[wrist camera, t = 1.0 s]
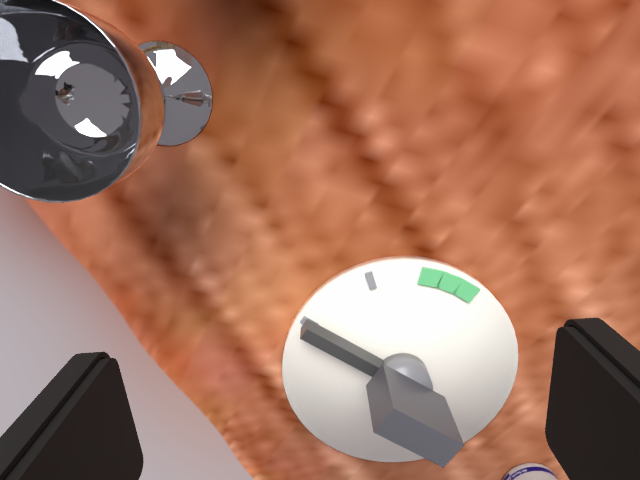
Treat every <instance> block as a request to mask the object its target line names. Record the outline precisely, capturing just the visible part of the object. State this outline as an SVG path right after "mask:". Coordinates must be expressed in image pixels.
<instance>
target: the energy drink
mask: <svg viewBox="0 0 640 480" xmlns="http://www.w3.org/2000/svg"><path fill="white" fill-rule="evenodd" d="M503 480H558V479H557V477H556V476H555V474H554V472H553V471H552V470H551V469H550V468H548V467H547V466H544V465H542V464H538V463H524V464H520V465H518V466H515V467H514V468H512V469H511V470H510V471H508V473H507V474H506V475H505V477H504V479H503Z"/></svg>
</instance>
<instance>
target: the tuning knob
mask: <svg viewBox="0 0 640 480" xmlns="http://www.w3.org/2000/svg"><path fill="white" fill-rule="evenodd" d="M300 339H301V340H303V341H305V342H307V343H309V344H311V345H313V346H315V347H316V348H318V349H320V350H322V351H324V352H326V353H328V354H330V355H331V356H333V357H335V358H337V359H339V360H341V361H343V362H345V363H347V364H348V365H350V366H352V367H354V368H356V369H358V370H360V371H362V372H364V373H365V374H367V375H369V376H371V377H372V378H371V380H370V381H369V382H368V383H367V385H366V390H367V396H368V402H369V408H370V414H371V421H372V427H373V432H374V433H375V434H377V435H379V436H381V437H383V438H385V439H387V440H389V441H391V442H393V443H395V444H397V445H399V446H401V447H403V448H405V449H407V450H409V451H411V452H413V453H415V454H417V455H419V456H421V457H423V458H425V459H427V460H429V461H431V462H433V463H435V464H437V465H439V466H441V467H443V468H444V467H445V465H446V464H447V463H448V462H449V461H450V460H451V459H452V458H453V457H454V456H455V455H456V453H457V452H458V451H459V450H460V449H461V448H462V447H463V446H464V443H463V440H462V438H461V435H460V433H459V431H458V428H457V426H456V423H455V421H454V418H453V416H452V413H451V411H450V408H449V406H448V403H447V401H446V399H445V397H444V396H442V395H440V394H439V393H437V392H435V391H433V384H432V381H431V379H430V376H429V373H428V371H427V368H426V366H425V364H424V362H423V361H422V360H421V359H420V358H418V357H417V356H414V355H412V354H408V353H398V354H394V355H391V356H389V357H387V358H385V359H384V360H383V359H381V358H379V357H377V356H375V355H373V354H372V353H370V352H368V351H366V350H364V349H362V348H361V347H359V346H357V345H355V344H353V343H351V342H349V341H348V340H346V339H344V338H342V337H340V336H338V335H337V334H335V333H333V332H331V331H329V330H327V329H325V328H324V327H322V326H320V325H318V324H316V323H314V322H313V321H311V320H309V319H307V320H306V321H305V323H304V324H303V326H302V327H301V332H300Z"/></svg>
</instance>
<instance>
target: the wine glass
mask: <svg viewBox="0 0 640 480" xmlns="http://www.w3.org/2000/svg"><path fill="white" fill-rule="evenodd" d="M212 103H213V97H212V89H211V84H210V81H209V78H208V76H207V74H206V72H205V70H204V69H203V67H202V65H201V64H200V63H199V62H198V60H197V59H196V58H195V57H194V56H193V55H191V54H190V53H189V52H188V51H186V50H185V49H183V48H182V47H180V46H177V45H175V44H173V43H169V42H164V41H149V42H144V43H141V44H138V45H137V44H136V43H135V42H134V41H132V40H131V39H130V38H129V37H128V36H127V35H125V34H124V33H123V32H122V31H120V30H119V29H117V28H116V27H114V26H113V25H111V24H110V23H108V22H106V21H105V20H103V19H102V18H100V17H98V16H96V15H94V14H91V13H89V12H87V11H84V10H82V9H79V8H77V7H74V6H72V5H69V4H67V3H64V2H61V1H57V0H0V186H1V187H3V188H5V189H6V190H8V191H10V192H12V193H14V194H17V195H20V196H23V197H26V198H29V199H32V200H38V201H43V202H58V203H64V202H71V201H77V200H81V199H84V198H87V197H90V196H93V195H96V194H98V193H100V192H102V191H104V190H106V189H108V188H110V187H112V186H113V185H115V184H117V183H119V182H120V181H122V180H123V179H125V178H127V177H128V176H130V175H131V174H132V173H133V172H134V171H136V170H137V169H138V168H139V167H140V166H141V165H142V164H143V163H144V162H145V161H146V160H147V158H148V157H149V156H150V154H151V153H152V152H153V150H154V149H155V147H156V145H162V146H174V145H180V144H183V143H185V142H188V141H190V140H191V139H193V138H194V137H196V136H197V135H198V134H199V133H200V132H201V131H202V130H203V128H204V127H205V126H206V124H207V122H208V120H209V117H210V114H211V111H212Z"/></svg>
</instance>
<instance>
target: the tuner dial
mask: <svg viewBox="0 0 640 480" xmlns="http://www.w3.org/2000/svg"><path fill="white" fill-rule="evenodd" d="M307 319H309V320H311V321H313V322H314V323H316V324H318V325H320V326H322V327H324V328H325V329H327V330H329V331H331V332H333V333H335V334H337V335H338V336H340V337H342V338H344V339H346V340H348V341H349V342H351V343H353V344H355V345H357V346H359V347H361V348H362V349H364V350H366V351H368V352H370V353H372V354H373V355H375V356H377V357H379V358H381V359H383V360H384V359H385V358H387V357H389V356H391V355H394V354H398V353H408V354H412V355H414V356H417V357H418V358H420V359H421V360H422V361H423V362H424V364H425V366H426V368H427V371H428V373H429V376H430V379H431V381H432V384H433V391H435V392H437V393H439V394H440V395H442V396H444V397H445V399H446V401H447V403H448V406H449V408H450V411H451V413H452V416H453V418H454V421H455V423H456V426H457V428H458V431H459V433H460V435H461V438H462V440H463V443H464V442H466V441H467V440H469V439H470V438H472V437H473V436H475V435H476V434H477V433H478V432H480V431H481V430H482V429H483V428H485V427H486V426H487V425H488V423H489V422H490V421H491V420H492V419H493V418H494V417H495V416H496V415H497V413H498V412H499V411H500V409H501V408H502V407H503V405H504V403H505V401H506V400H507V398H508V396H509V394H510V392H511V389H512V386H513V384H514V381H515V377H516V372H517V366H518V345H517V340H516V335H515V331H514V328H513V326H512V324H511V321H510V319H509V317H508V315H507V314H506V312H505V310H504V309H503V307H502V306H501V304H500V303H499V302H498V301H497V300H496V298H495V297H494V296H493V295H492V294H491V292H490V291H489V290H488V289H487V288H486V287H485V286H484V285H483V284H482V283H481V282H480V281H478V280H477V279H476V278H475V277H473V276H472V275H470V274H469V273H467V272H465V271H464V270H462V269H460V268H458V267H456V266H454V265H451V264H449V263H446V262H443V261H440V260H436V259H432V258H427V257H421V256H406V255H400V256H387V257H381V258H376V259H371V260H368V261H365V262H362V263H359V264H356V265H353V266H351V267H349V268H347V269H345V270H343V271H340V272H339V273H337V274H336V275H334V276H332V277H331V278H329V279H328V280H326V281H325V282H324V283H323V284H321V285H320V286H319V287H318V288H317V289H315V290H314V291H313V293H312V294H311V295H310V296H309V297H308V298H307V299H306V300H305V301H304V303H303V304H302V306H301V307H300V308H299V310H298V311H297V313H296V315H295V317H294V319H293V321H292V323H291V325H290V327H289V330H288V333H287V336H286V341H285V346H284V353H283V365H282V375H283V383H284V388H285V391H286V395H287V398H288V400H289V403H290V405H291V407H292V409H293V411H294V412H295V414H296V415H297V417H298V418H299V420H300V421H301V422H302V423H303V425H304V426H305V427H306V428H307V429H308V430H309V431H310V432H311V433H312V434H313V435H315V436H316V437H317V438H318V439H320V440H321V441H323V442H324V443H326V444H327V445H328V446H330V447H332V448H334V449H336V450H338V451H340V452H343V453H345V454H348V455H351V456H353V457H357V458H361V459H365V460H371V461H379V462H407V461H414V460H420V459H425V458H423V457H421V456H419V455H417V454H415V453H413V452H411V451H409V450H407V449H405V448H403V447H401V446H399V445H397V444H395V443H393V442H391V441H389V440H387V439H385V438H383V437H381V436H379V435H377V434H375V433H374V432H373V427H372V421H371V414H370V408H369V402H368V396H367V390H366V385H367V383H368V382H369V381H370V380H371V378H372V377H371V376H369V375H367V374H365V373H364V372H362V371H360V370H358V369H356V368H354V367H352V366H350V365H348V364H347V363H345V362H343V361H341V360H339V359H337V358H335V357H333V356H331V355H330V354H328V353H326V352H324V351H322V350H320V349H318V348H316V347H315V346H313V345H311V344H309V343H307V342H305V341H303V340H301V339H300V332H301V327H302V326H303V324H304V323H305V321H306V320H307Z"/></svg>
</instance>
